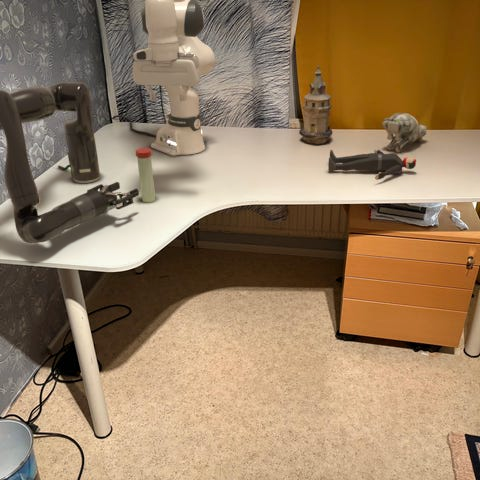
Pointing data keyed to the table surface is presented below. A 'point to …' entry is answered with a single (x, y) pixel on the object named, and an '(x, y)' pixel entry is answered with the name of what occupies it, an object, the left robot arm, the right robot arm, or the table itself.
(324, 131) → the miniature building
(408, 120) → the figurine
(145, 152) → the lid
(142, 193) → the olive green cylinder
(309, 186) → the table surface
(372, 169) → the toy
